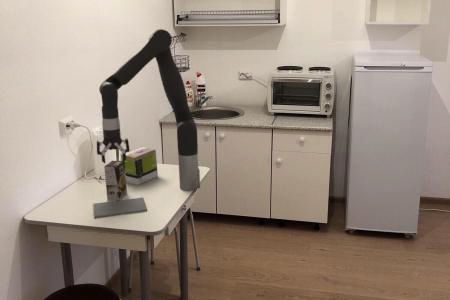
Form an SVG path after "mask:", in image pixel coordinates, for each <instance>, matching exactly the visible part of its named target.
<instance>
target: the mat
mask: <svg viewBox="0 0 450 300" xmlns="http://www.w3.org/2000/svg"><path fill="white" fill-rule="evenodd" d="M143 212H148V207H147V205H146V202H145V199H144V197H143V196H142V197H136V198H127V199H120V200H110V201H105V202H104V201H103V202H102V201H101V202H97V203H93V217H94V219H100V218H107V217H113V216H121V215H128V214H137V213H143Z"/></svg>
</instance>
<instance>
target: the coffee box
mask: <svg viewBox="0 0 450 300" xmlns="http://www.w3.org/2000/svg"><path fill="white" fill-rule="evenodd" d="M104 177H105V180H104V181H105V189H106V200H110V201H118V200H122V199H123V198H124V197H125V196H126V195H127V194H128V187H127V186H128V185H127V182H126V173H125V161H124V162H123V161H122V160H111V161H110V162H108V163H107V164H106V165H104Z"/></svg>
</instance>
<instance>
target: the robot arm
mask: <svg viewBox="0 0 450 300" xmlns="http://www.w3.org/2000/svg"><path fill="white" fill-rule="evenodd" d="M172 42H173V38H172V36H171V33H170V32H169V31H167V30H165V29H161V28H157V29H154V30H152V31H151V32H150V33H149V35H148V42H147V43H145V45H144V46H143V47H142V48H141V49H140V50H139V51H138V52H137V53H135V54H134V55H133V56H131V57H129V59H128V60H126V61H125V62H124V63H123V64H122V65H121V66H120V67H119V68H118V69H117V70H116V71H115V72H114V73H113V74H111V75H110V76H108V78H106V79H105V80H103V82H102V83H101V84H100V86H99V93H100V94H101V95H100V96H101V103H102V106H101V118H102V120H101V121H102V122H101V123H102V127H101V128H102V137H103V140H99V139H98V140H96V154H97V156H98V155H99V156H101V162H102V163H103V164H106V156H105V154H106V153H107V151H108V150H110V151H113V150H119V151H120V152H121V153H122V156H123V162H124V161H125V160H126V153H127V152H129V151H131V150H130V144H129V143H130V142H129V138H128V137H125V138H122V135H121V123H120V117H119V106H118V103H119V93H118V92H119V91H118V90H119V89H121V88H122V86H125V85H128V84H129V83H130V82H131V81H132V80H133V79H134V78H135V77H136V76H137V75H138V74H139V73H140V72H141V71H142V70H143V69H144V68H145V67H146V66H147V65H148V64H149V63H151V61H152V60H154V59H155V61H156V64H157V66H158V72H159V75H160V79H161V85H162V87H163V90H164V93H165V96H166V98H167V101H168V102H169V105H170V106H171V109H172V111H173V113H174V117H175V118H174V119H175V122H176V138H177V140H176V141H177V157H178V158H177V159H178V174H179V177H178V178H179V189H180V190H182V191H186V192H187V191H189V192H190V191H196V190H198V189H201V176H200V168H199V156H198V155H199V154H198V153H199V152H198V151H199V150H198V149H199V144H198V128H197V124H196V121H195V119H194V117H193V115H192V113H191V110H190V106H189V102H188V95H187V92H186V91H187V90H186V87H185V84H184V80H183V76H182V74H181V72H180V70H179V68H178V66H177V64H176V62H175V60H174V58H173V54H172V51H171V45H172ZM122 143H123V144H124V145H125V148H123V146H122ZM102 145H104V147H103V149H102V151H101V146H102Z"/></svg>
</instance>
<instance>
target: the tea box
mask: <svg viewBox="0 0 450 300" xmlns="http://www.w3.org/2000/svg"><path fill="white" fill-rule="evenodd" d="M120 158H121V159H120V161H123V156H122V154H120ZM158 172H159V171H158V162H157V150H156V149H154V148H149V147H145V146H140V147H138V148H135V149H132V150H130V151H129V152H127V153H126V160H125V173H126V184H131V185H134V186H139V185H141V184H143V183H146V182H148V181H150V180H152V179H155V178H156V177H158V176H159V173H158Z"/></svg>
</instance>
